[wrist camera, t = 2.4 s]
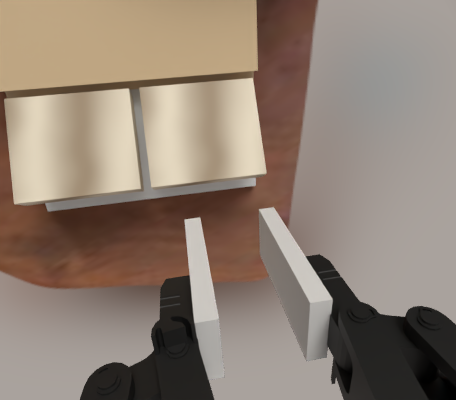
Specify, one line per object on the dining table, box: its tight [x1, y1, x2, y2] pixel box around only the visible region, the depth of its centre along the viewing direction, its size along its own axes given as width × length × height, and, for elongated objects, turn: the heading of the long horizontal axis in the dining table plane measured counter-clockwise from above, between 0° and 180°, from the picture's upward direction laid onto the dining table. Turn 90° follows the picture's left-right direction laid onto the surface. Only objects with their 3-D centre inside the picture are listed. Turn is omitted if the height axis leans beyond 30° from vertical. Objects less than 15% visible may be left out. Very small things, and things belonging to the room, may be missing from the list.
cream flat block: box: [4, 88, 144, 206], centre depth 26 cm, size 9×8×2 cm
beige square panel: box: [139, 78, 267, 190], centre depth 27 cm, size 9×8×2 cm
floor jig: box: [0, 0, 258, 212], centre depth 28 cm, size 20×17×3 cm
